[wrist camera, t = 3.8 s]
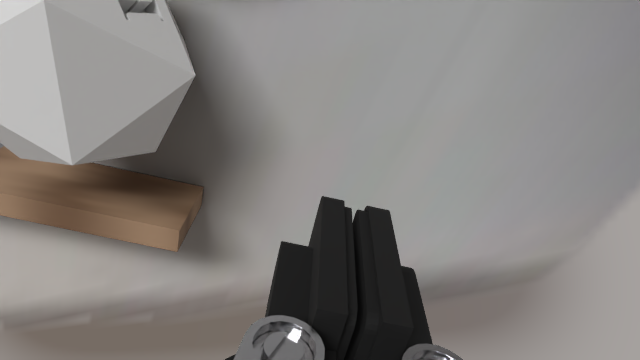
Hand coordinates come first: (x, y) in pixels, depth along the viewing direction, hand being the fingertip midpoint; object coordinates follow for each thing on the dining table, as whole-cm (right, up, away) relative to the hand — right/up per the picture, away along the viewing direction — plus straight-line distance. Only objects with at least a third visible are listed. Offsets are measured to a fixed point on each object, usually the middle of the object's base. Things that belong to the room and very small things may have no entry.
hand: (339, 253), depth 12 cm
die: (-9, +8, +9) cm, 16 cm away
